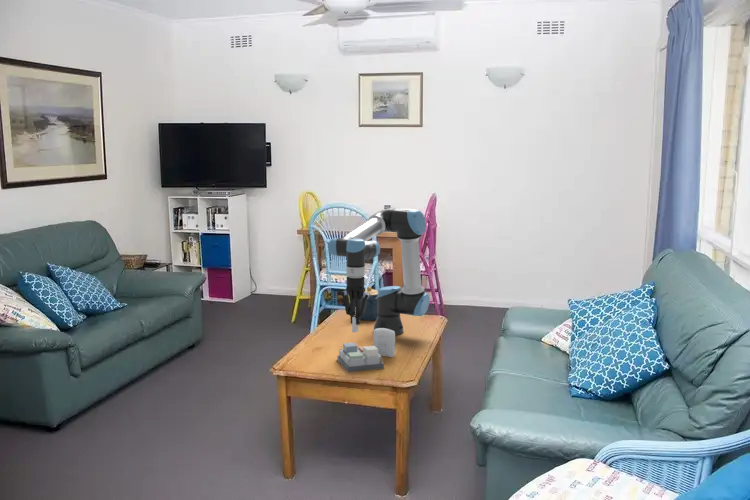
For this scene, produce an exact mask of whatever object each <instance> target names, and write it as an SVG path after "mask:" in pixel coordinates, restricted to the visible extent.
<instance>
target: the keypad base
mask: <svg viewBox="0 0 750 500" xmlns="http://www.w3.org/2000/svg"><path fill="white" fill-rule="evenodd" d="M338 350H339V351H338V355H337V356H336V357H337V358H336V359H337V362H338V363H339V364H340V365H341V366H342V368H343V369H344V370H345V371H346V372H347V373H354V372H361V371H363V372H364V371H373V370H380V369H381V370H383V369H385V363H384V362H383V356H381V355H380V354H379V353H378V356H376V357H366V356H365V355H363V352H360V351H359V350H358V347H357V352H360V353H361V354H362V358H355V359H350V358H349V357H348V354H345V353H344V351H343V348H342V349H341V348H340V349H338Z"/></svg>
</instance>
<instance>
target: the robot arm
mask: <svg viewBox="0 0 750 500" xmlns="http://www.w3.org/2000/svg"><path fill="white" fill-rule="evenodd" d="M426 223H427V222H426V218H425V215H424V213H423V212H422V210H420V209H414V208H400V207H399V208H397V207H396V208H395V207H390V208H389V207H388V208H385V209H382V210H379V211H377V212H376V213H374V214H372V215H371V216H369V217H368V219H367V221H365V222H364V223H362V224H360V225H359V226H358V227H356V228H355V229H353V230H351V231H350V232H349V233H347V234H346V235H343V236H342V237H341V238H338V237H335V238H331V239H330V240H329V242H328V245H327V246H328V247H327V248H328V253H329V254H330V255H331V256H337V257H346V276H347V277H346V288H345V290H343V291H341V292H340V294H341V296H342V299H343V304H344V309H345V314H346V315H349V316H350V324H351V329H352V330H351V332H352V333H357V332H359V325H360V324H361V319H360V316H363V315H364V314H365V310H366V306H367V302H368V299H369V297H370V294H367V293H366V292H365V289H366V287H365V284H366V283H365V282H366V281H365V275H366V272H365V271H366V269H365V266H366V262H365V261H366V260H370V259H374V258H376V257H377V256H379V254H380V253H381V246H380V244H379V243H378V242H377V241H376V240H371V239H372V238H373V237H375V236H376V235H381V234H383V233H396V236H397V237H396V238H397V239H398V240H399V241H400V248H401V249H400V251H401V264H402V265H401V266H402V277H403V279H402V280H403V287H401V286H398V285H390V286H383V287H381V288H379V289H378V290H377V291H378V297H377V298H378V304H377V319H376V320H375V323H374V325H373V331H374V330H375V329H377V328H387V329H390V330H393V331H394V332H395V336H397V335H401V334H403V333H404V325H403V322H402V319H401V315H409V316H412V317H422V316H424V315H425V314H427V311H428V309H429V305H430V302H431V301H430V298H431V297H430V295H429V293H427V292H426V291H425V289H426V288H425V287H424V286H423V285H422V278H421V261H420V260H421V259H420V257H421V256H420V244H419V242H420V239H421V237H422V235H423V234H424V233H425V230H426ZM363 294H364V296H363ZM362 296H363V297H364V298H363V301H362V306H361V297H362Z"/></svg>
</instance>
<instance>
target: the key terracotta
mask: <svg viewBox="0 0 750 500" xmlns="http://www.w3.org/2000/svg"><path fill="white" fill-rule="evenodd" d="M366 346H367V345H361V346H360V345H359V346H357V348H358V350H359V351H360V352H363V347H366Z"/></svg>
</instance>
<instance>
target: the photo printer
mask: <svg viewBox="0 0 750 500" xmlns="http://www.w3.org/2000/svg"><path fill="white" fill-rule="evenodd" d="M372 334H373V335H372V346H375V347H376V348H377V349H378V353H379V354H380V355H381V356H382V357H389V358H393V357H395V356H396V355H395V352H396V335H395V332H394V331H393V330H390V329H387V328H377V329H375V330H374V329H373V333H372Z"/></svg>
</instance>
